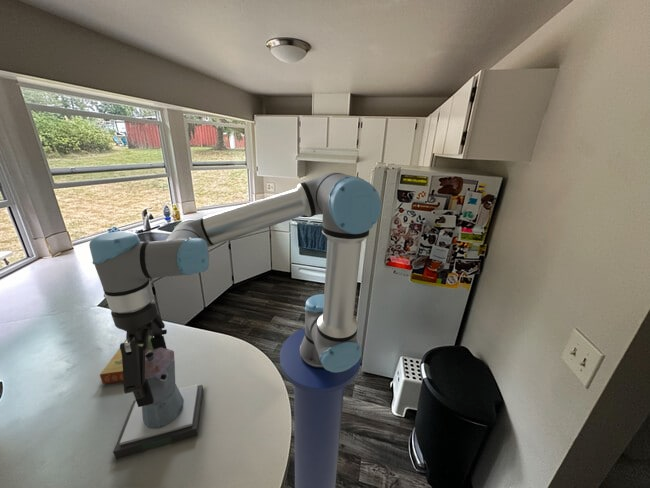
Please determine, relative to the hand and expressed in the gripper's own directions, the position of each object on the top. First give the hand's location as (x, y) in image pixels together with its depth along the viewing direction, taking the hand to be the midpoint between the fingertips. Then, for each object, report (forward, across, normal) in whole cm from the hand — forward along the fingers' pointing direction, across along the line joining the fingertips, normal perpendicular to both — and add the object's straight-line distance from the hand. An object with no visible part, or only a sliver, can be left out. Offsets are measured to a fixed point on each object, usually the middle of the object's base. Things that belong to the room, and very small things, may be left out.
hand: (155, 378), depth 60 cm
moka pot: (+12, 0, 0) cm, 12 cm away
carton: (+15, -24, -16) cm, 33 cm away
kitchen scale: (+15, 0, 0) cm, 15 cm away
